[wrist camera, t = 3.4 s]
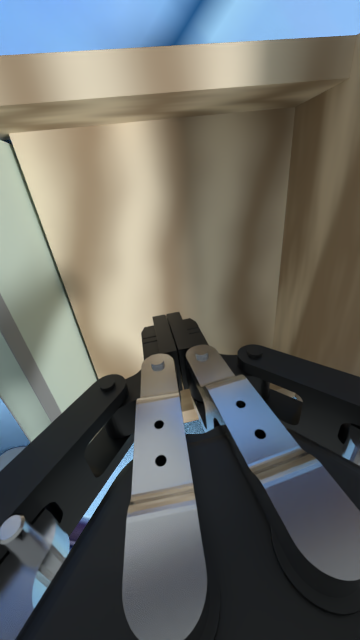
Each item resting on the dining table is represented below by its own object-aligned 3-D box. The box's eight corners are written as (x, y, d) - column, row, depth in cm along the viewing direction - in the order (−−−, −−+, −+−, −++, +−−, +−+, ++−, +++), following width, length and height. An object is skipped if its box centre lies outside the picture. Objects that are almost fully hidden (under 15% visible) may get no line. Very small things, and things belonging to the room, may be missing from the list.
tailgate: (15, 146, 15) (-140, 78, 6) (101, 382, 25) (86, 483, 16) (-12, 148, 15) (-209, 82, 6) (85, 385, 25) (61, 489, 16)
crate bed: (304, 84, 17) (598, -103, 6) (275, 356, 28) (362, 451, 18) (-24, 111, 14) (-443, -123, 4) (91, 396, 26) (66, 532, 15)
